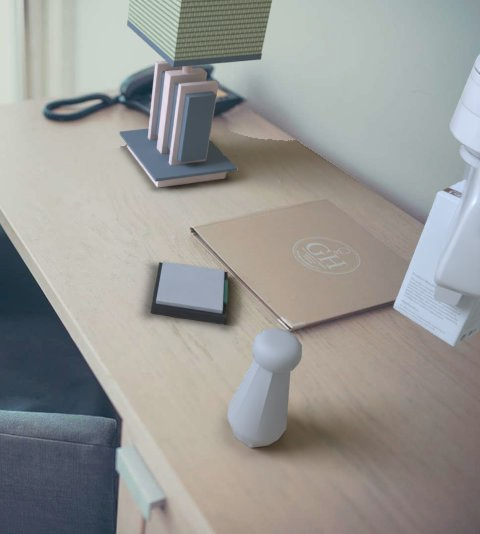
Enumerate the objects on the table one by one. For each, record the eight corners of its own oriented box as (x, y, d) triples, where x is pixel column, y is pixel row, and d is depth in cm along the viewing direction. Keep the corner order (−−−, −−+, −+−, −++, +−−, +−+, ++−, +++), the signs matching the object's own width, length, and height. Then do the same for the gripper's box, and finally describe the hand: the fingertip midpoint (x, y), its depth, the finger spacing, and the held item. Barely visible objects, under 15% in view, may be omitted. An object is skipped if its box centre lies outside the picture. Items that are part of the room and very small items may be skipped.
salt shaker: (291, 452, 63) (325, 360, 55) (235, 459, 62) (262, 367, 54) (267, 405, 68) (296, 314, 60) (216, 412, 67) (238, 320, 59)
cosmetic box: (481, 331, 54) (549, 210, 47) (451, 351, 52) (517, 228, 45) (417, 291, 58) (470, 174, 51) (386, 308, 56) (437, 189, 49)
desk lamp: (237, 183, 104) (281, -33, 84) (156, 195, 101) (182, -28, 80) (189, 134, 118) (218, -63, 98) (117, 142, 114) (131, -60, 94)
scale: (226, 278, 85) (228, 268, 83) (224, 324, 78) (226, 313, 76) (158, 269, 86) (159, 258, 85) (150, 313, 79) (151, 302, 78)
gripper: (581, 198, 36) (480, 369, 44) (580, 82, 50) (503, 229, 58) (458, 167, 38) (385, 334, 47) (490, 64, 52) (429, 208, 61)
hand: (451, 275), depth 53 cm, fingers closed on cosmetic box, 5 cm apart
